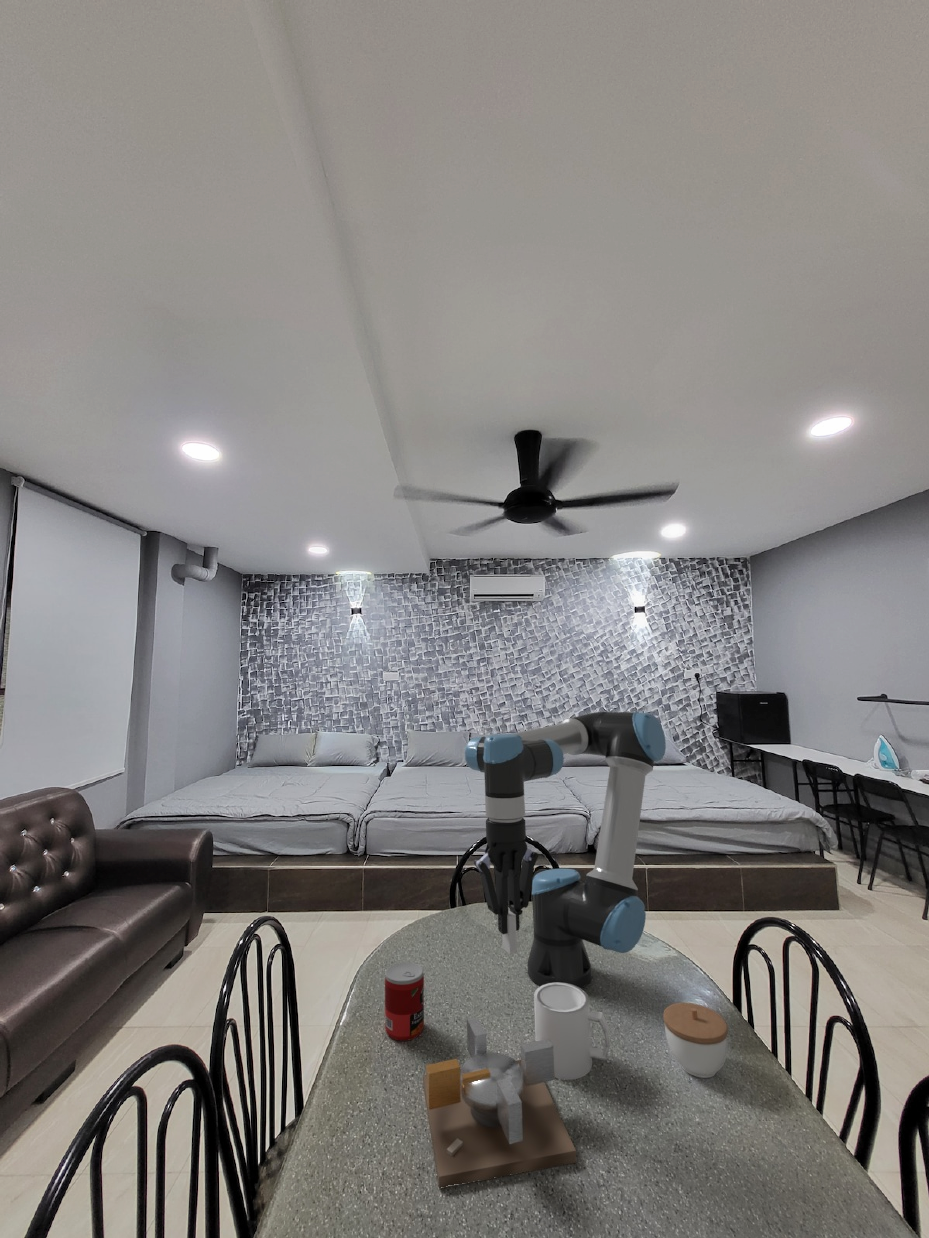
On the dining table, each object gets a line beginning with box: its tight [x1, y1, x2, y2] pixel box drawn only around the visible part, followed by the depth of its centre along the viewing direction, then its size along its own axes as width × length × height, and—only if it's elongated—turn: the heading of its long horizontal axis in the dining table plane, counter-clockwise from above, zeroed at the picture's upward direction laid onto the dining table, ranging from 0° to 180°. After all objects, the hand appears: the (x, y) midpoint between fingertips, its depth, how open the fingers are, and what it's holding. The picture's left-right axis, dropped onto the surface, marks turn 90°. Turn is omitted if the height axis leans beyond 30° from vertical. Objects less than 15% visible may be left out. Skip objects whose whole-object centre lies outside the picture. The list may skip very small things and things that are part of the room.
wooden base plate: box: [422, 1059, 577, 1189], centre depth 85 cm, size 20×20×4 cm
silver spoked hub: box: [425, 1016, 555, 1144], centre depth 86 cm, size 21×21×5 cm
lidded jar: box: [662, 1002, 729, 1079], centre depth 97 cm, size 11×11×9 cm
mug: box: [533, 982, 611, 1081], centre depth 98 cm, size 14×10×11 cm
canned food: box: [384, 961, 425, 1042], centre depth 109 cm, size 8×8×11 cm
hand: (509, 949), depth 98 cm, fingers closed
